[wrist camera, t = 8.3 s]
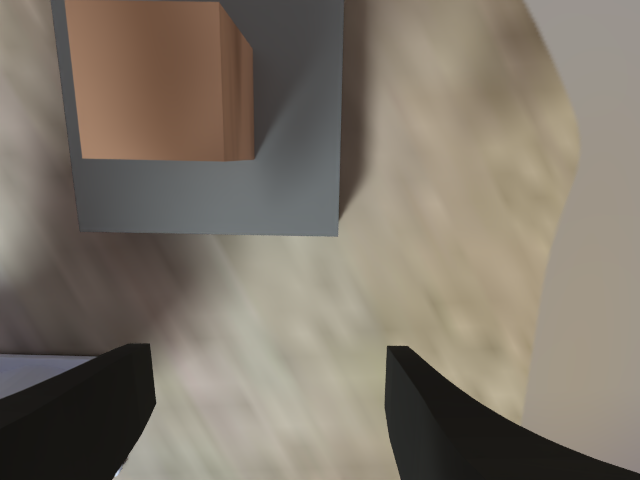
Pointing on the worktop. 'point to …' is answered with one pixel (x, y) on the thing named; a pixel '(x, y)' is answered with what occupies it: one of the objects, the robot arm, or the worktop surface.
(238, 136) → the terracotta block
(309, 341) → the worktop surface
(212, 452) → the worktop surface
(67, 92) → the charcoal stand
